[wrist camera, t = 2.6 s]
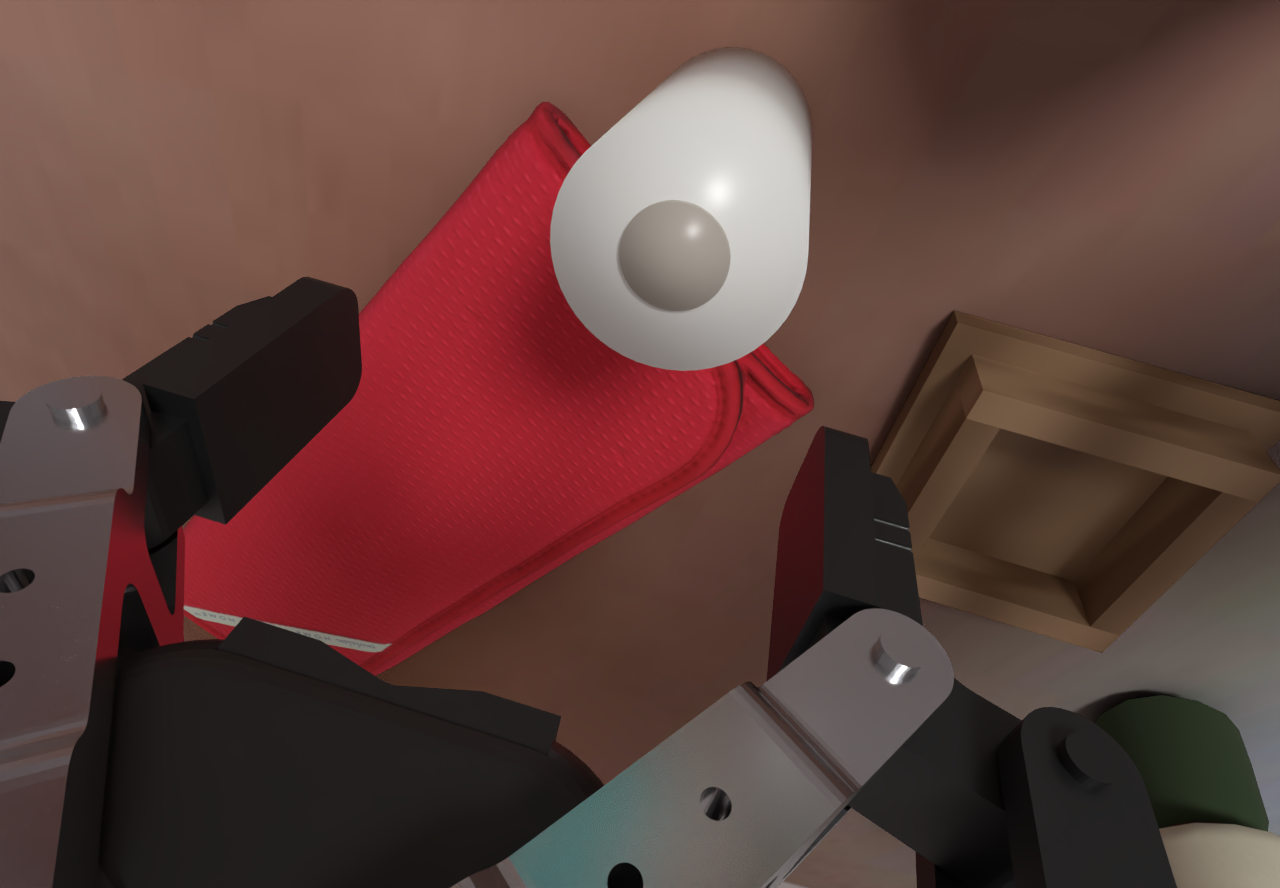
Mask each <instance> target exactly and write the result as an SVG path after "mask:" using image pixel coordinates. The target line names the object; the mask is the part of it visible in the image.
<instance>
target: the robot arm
mask: <svg viewBox="0 0 1280 888" xmlns="http://www.w3.org/2000/svg"><path fill="white" fill-rule="evenodd" d="M361 375H362V358H361V343H360V328H359V313H358V301H357V297H356V295H355V293H354V292H353V291H352V290H351V289H349V288H345V287H342V286H338V285H335V284H331V283H328V282H324V281H321V280H317V279H314V278H310V277H303V278H301V279H299V280H297V281H296V282H294V283H293V284H291V285H290V286H288V287H287V288H285V289H284V290H282V291H281V292H279V293H278V294H276V295H275V296H273V297H270V296H268V297H264V298H261V299H258V300H255V301H251V302H248V303H245V304H242V305H238V306H236V307H234V308H233V309H231V310H230V311H228V312H227V313H225V314H223V315H222V316H220V317H219V318H217V319H216V320H214V321H213V324H212V325H209V324H208V325H206V326H205V327H203V328H202V329H200V330H199V331H197V332H195V333H194V334H193V338H190V337H188V338H186V339H185V340H183V341H181V342H180V343H178V344H177V345H175V346H174V347H172V348H170V349H169V350H167V351H166V352H164V353H163V354H161V355H160V356H158V357H156V358H155V359H153V360H152V361H150V362H149V363H147V364H146V365H144V366H142V367H141V368H139V369H138V370H136V371H135V372H133V373H132V374H130V375H128V376H127V377H125V378H124V379H122V380H120V379H117V378H112V377H106V376H80V377H72V378H67V379H61V380H58V381H54V382H50V383H48V384H45V385H42V386H40V387H38V388H36V389H33V390H31V391H30V392H28V393H27V394H25V395H23V396H22V397H21V398H20V399H19V400H17V401H16V402H8V401H0V888H777V887H778V886H779V885H780V884H781V883H782V882H783V881H784V880H785V879H786V878H787V877H788V876H789V875H790V874H791V872H792V871H793V870H794V869H795V868H796V867H797V866H798V865H799V864H800V863H801V862H802V861H803V860H804V859H805V858H806V857H807V856H808V854H809V853H810V852H811V851H812V850H813V849H814V848H815V847H816V846H817V845H818V844H819V843H820V842H821V841H822V840H823V839H824V838H825V836H826V835H827V834H828V833H829V832H830V831H831V830H832V829H833V828H834V827H835V826H836V825H837V824H838V823H839V822H840V821H841V820H842V818H843V817H844V816H845V815H846V814H847V813H848V812H849V811H850V810H851V809H852V808H853V809H854V810H856V811H857V812H859V813H860V814H862V815H863V816H865V817H866V818H868V819H869V820H870V821H872V822H873V823H875V824H876V825H878V826H879V827H881V828H882V829H884V830H885V831H887V832H888V833H890V834H891V835H893V836H894V837H895V838H897V839H898V840H900V841H901V842H903V843H904V844H906V845H907V846H909V847H910V848H912V849H913V850H915V851H916V874H917V888H1177V885H1176V882H1175V879H1174V876H1173V873H1172V869H1171V866H1170V863H1169V860H1168V856H1167V853H1166V850H1165V847H1164V844H1163V840H1162V837H1161V834H1160V831H1159V827H1158V824H1157V821H1156V818H1155V815H1154V811H1153V808H1152V805H1151V802H1150V798H1149V795H1148V792H1147V789H1146V786H1145V783H1144V781H1143V778H1142V776H1141V774H1140V772H1139V770H1138V768H1137V767H1136V765H1135V764H1134V762H1133V761H1132V759H1131V758H1130V756H1129V755H1128V754H1127V753H1126V751H1125V750H1124V749H1123V748H1122V747H1121V746H1120V745H1119V744H1118V743H1117V742H1116V741H1115V740H1114V739H1113V738H1112V737H1111V736H1110V735H1109V734H1108V733H1106V732H1105V731H1104V730H1103V729H1102V728H1100V727H1099V726H1097V725H1096V724H1094V723H1093V722H1091V721H1090V720H1088V719H1086V718H1084V717H1082V716H1081V715H1078V714H1076V713H1073V712H1071V711H1068V710H1064V709H1061V708H1054V707H1044V708H1039V709H1036V710H1034V711H1032V712H1031V713H1029V714H1028V715H1027V716H1026V717H1025V718H1024V719H1023V720H1020V719H1018V718H1016V717H1015V716H1013V715H1011V714H1010V713H1008V712H1006V711H1004V710H1003V709H1001V708H999V707H998V706H996V705H994V704H993V703H991V702H989V701H987V700H986V699H984V698H982V697H981V696H979V695H977V694H976V693H974V692H973V691H971V690H969V689H968V688H966V687H965V686H964V685H962V684H961V683H960V682H959V681H957V680H956V679H955V678H954V673H953V668H952V664H951V661H950V659H949V657H948V655H947V653H946V651H945V650H944V648H943V647H942V645H941V644H940V643H939V642H938V640H937V639H936V638H935V637H934V636H933V635H932V634H931V633H930V632H929V631H928V630H927V629H925V628H924V627H923V624H922V617H921V609H920V602H919V594H918V587H917V579H916V572H915V564H914V557H913V552H911V549H912V542H911V534H910V532H909V531H908V530H909V519H908V512H907V504H906V501H905V500H904V498H903V497H902V495H901V493H900V492H899V490H898V489H897V487H896V485H895V484H894V482H893V481H892V479H891V478H890V477H887V476H883V475H880V474H876V473H873V472H871V469H870V456H869V444H868V440H867V439H866V438H863V437H859V436H856V435H852V434H849V433H845V432H842V431H838V430H835V429H831V428H828V427H825V426H822V427H820V428H819V430H818V431H817V433H816V435H815V437H814V439H813V442H812V444H811V446H810V448H809V450H808V453H807V455H806V457H805V459H804V462H803V464H802V466H801V468H800V471H799V473H798V475H797V477H796V480H795V482H794V484H793V486H792V488H791V491H790V493H789V495H788V498H787V501H786V504H785V507H784V510H783V514H782V518H781V523H780V529H779V539H778V551H777V563H776V576H775V588H774V600H773V612H772V624H771V636H770V648H769V660H768V672H767V682H765V683H764V684H763V685H761V686H759V687H757V688H756V687H755V685H754V684H753V683H751V682H746V683H743V684H741V685H739V686H738V687H736V688H734V689H733V690H732V691H730V692H729V693H727V694H726V695H725V696H723V697H722V698H721V699H719V700H718V701H717V702H715V703H714V704H713V705H711V706H710V707H709V708H707V709H706V710H705V711H703V712H702V713H701V714H699V715H698V716H697V717H695V718H694V719H693V720H691V721H690V722H689V723H687V724H686V725H685V726H683V727H682V728H681V729H679V730H678V731H677V732H675V733H674V734H673V735H671V736H670V737H669V738H667V739H666V740H665V741H663V742H662V743H661V744H659V745H658V746H656V747H655V748H654V749H652V750H651V751H650V752H648V753H647V754H646V755H644V756H643V757H642V758H640V759H639V760H638V761H636V762H635V763H634V764H632V765H631V766H630V767H628V768H627V769H626V770H624V771H623V772H622V773H620V774H619V775H618V776H616V777H615V778H614V779H612V780H611V781H610V782H608V783H607V784H606V785H604V784H603V783H602V782H601V780H600V779H599V778H598V777H597V776H596V775H595V774H594V772H593V771H592V770H591V769H590V768H589V767H588V766H587V765H586V764H585V763H584V762H583V761H582V760H580V759H579V758H578V757H577V756H576V755H574V754H573V753H572V752H571V751H570V750H568V749H567V748H565V747H564V746H562V745H561V744H559V743H557V742H556V736H557V732H558V728H559V723H560V719H561V716H558V715H555V714H552V713H549V712H546V711H543V710H539V709H536V708H533V707H530V706H527V705H524V704H520V703H517V702H514V701H511V700H508V699H505V698H501V697H498V696H495V695H492V694H489V693H486V692H482V691H469V690H454V689H439V688H423V687H408V686H396V685H391V684H388V683H386V682H384V681H382V680H380V679H379V678H377V677H376V676H374V675H373V674H371V673H370V672H368V671H367V670H365V669H364V668H362V667H361V666H359V665H357V664H356V663H354V662H353V661H351V660H350V659H348V658H347V657H345V656H344V655H342V654H341V653H339V652H338V651H336V650H334V649H333V648H331V647H330V646H328V645H327V644H325V643H324V642H322V641H321V640H318V639H314V638H311V637H308V636H305V635H302V634H299V633H295V632H292V631H289V630H286V629H283V628H280V627H276V626H273V625H270V624H267V623H264V622H261V621H257V620H254V619H251V618H248V617H245V616H244V617H243V618H242V619H241V621H240V622H239V623H238V624H237V625H236V626H235V628H234V629H233V630H232V631H231V632H230V634H229V635H228V636H227V637H226V638H225V639H224V640H223V639H211V640H193V641H186V642H184V635H183V620H184V574H185V535H184V532H183V529H182V525H183V524H184V523H185V522H186V521H187V520H189V519H190V518H191V517H192V516H193V515H196V516H199V517H202V518H206V519H209V520H212V521H215V522H219V523H222V524H225V525H226V524H227V523H228V522H229V521H230V520H231V519H232V518H233V517H234V516H235V515H236V514H237V513H238V512H239V511H240V510H241V509H242V508H243V507H244V506H245V505H246V504H247V503H248V502H249V501H250V500H251V499H252V498H253V497H254V496H255V495H256V494H257V493H258V492H259V491H260V490H261V489H262V488H263V487H264V486H265V485H267V484H268V483H269V482H270V481H271V480H272V479H273V478H274V477H275V476H276V475H277V474H278V473H279V472H280V471H281V470H282V469H283V468H284V467H285V466H286V465H287V464H288V463H289V462H290V461H291V460H292V459H293V458H294V457H295V456H296V455H297V454H298V453H299V452H300V451H301V450H302V449H303V448H304V447H305V446H306V445H307V444H308V443H309V442H310V441H311V440H312V439H313V438H314V437H315V436H316V435H317V434H318V433H319V432H320V431H321V430H322V429H323V428H324V427H325V426H326V425H327V424H328V423H329V422H330V421H331V420H332V419H333V418H334V417H335V416H336V415H337V414H338V413H339V412H340V411H341V410H342V409H343V408H344V407H345V406H346V405H347V404H348V403H349V402H350V401H351V400H352V398H353V397H354V395H355V393H356V391H357V389H358V386H359V384H360V380H361Z"/></svg>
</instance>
